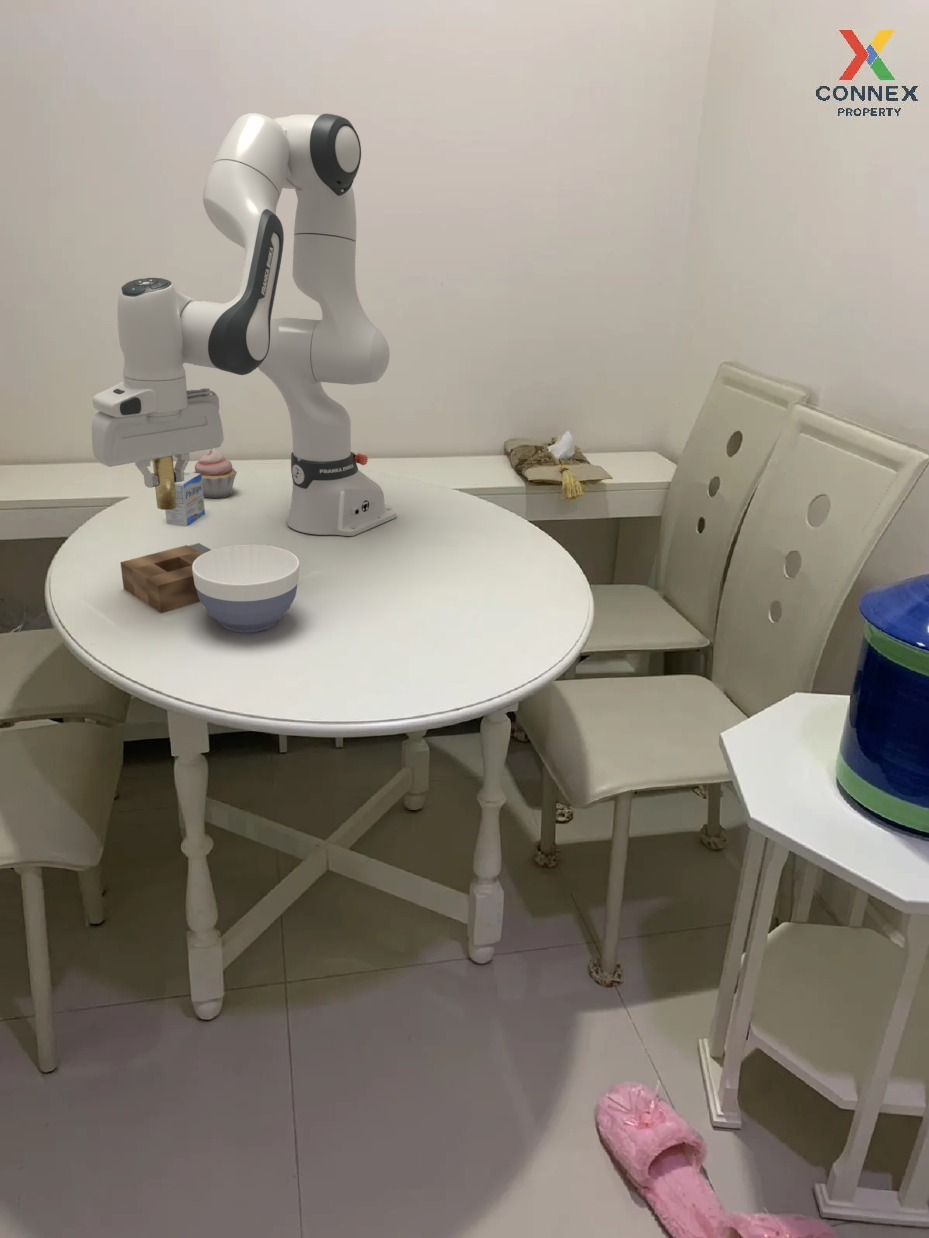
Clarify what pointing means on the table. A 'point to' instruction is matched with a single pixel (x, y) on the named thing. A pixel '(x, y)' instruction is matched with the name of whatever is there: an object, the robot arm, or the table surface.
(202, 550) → the rubber mat
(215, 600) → the bowl
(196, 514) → the medicine box
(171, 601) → the hole block
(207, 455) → the cupcake
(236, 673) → the table surface
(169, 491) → the brass peg
